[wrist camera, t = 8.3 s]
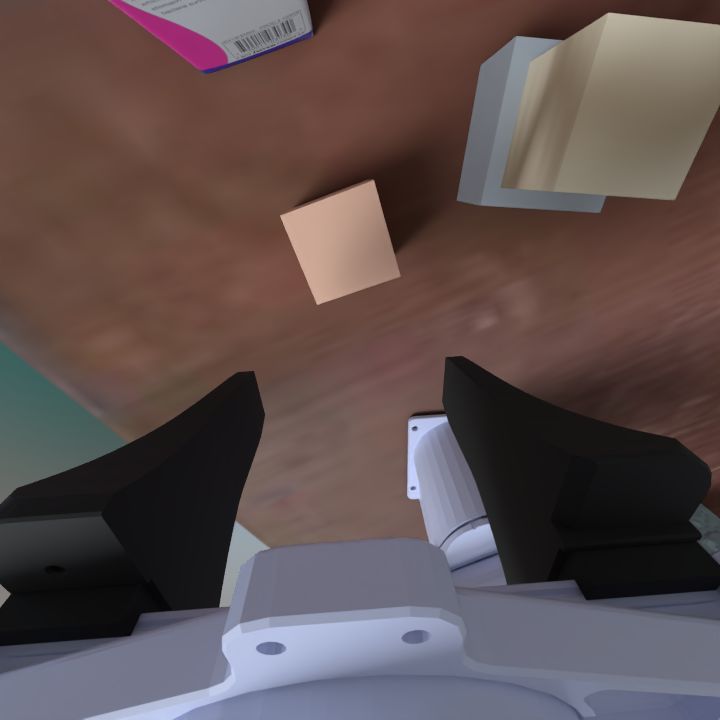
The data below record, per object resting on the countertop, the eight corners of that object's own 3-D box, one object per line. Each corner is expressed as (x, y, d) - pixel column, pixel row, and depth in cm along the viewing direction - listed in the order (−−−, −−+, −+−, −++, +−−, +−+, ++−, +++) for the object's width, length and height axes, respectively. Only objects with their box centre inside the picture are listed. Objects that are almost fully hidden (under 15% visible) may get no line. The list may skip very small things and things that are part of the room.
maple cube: (592, 194, 16) (674, 200, 12) (500, 188, 15) (553, 191, 11) (636, 72, 14) (755, 29, 10) (530, 61, 13) (608, 13, 9)
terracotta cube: (389, 257, 21) (400, 276, 17) (322, 280, 21) (317, 304, 17) (367, 179, 18) (373, 180, 14) (293, 207, 19) (280, 215, 15)
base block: (554, 206, 20) (600, 212, 16) (455, 200, 19) (480, 205, 16) (594, 76, 17) (661, 49, 13) (479, 66, 16) (516, 36, 13)
